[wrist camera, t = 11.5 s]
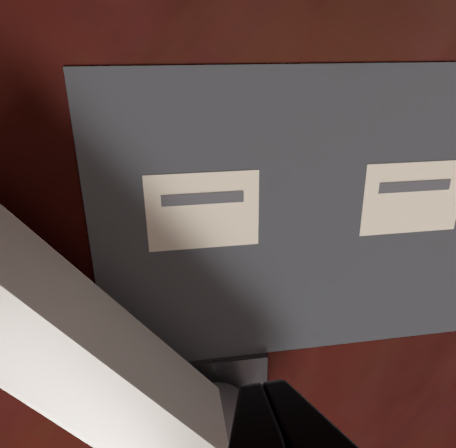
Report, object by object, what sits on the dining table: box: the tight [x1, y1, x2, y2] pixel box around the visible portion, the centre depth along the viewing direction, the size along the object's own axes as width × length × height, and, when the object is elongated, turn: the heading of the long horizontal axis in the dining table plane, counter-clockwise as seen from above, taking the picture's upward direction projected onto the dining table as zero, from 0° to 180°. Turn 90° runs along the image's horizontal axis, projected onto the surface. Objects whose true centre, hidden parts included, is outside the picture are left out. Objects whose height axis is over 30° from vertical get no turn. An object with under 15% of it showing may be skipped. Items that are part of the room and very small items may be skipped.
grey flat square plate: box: [188, 353, 268, 389], centre depth 21 cm, size 6×6×1 cm
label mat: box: [63, 62, 456, 362], centre depth 19 cm, size 20×14×1 cm
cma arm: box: [0, 204, 239, 448], centre depth 16 cm, size 4×18×4 cm, turn 40°
